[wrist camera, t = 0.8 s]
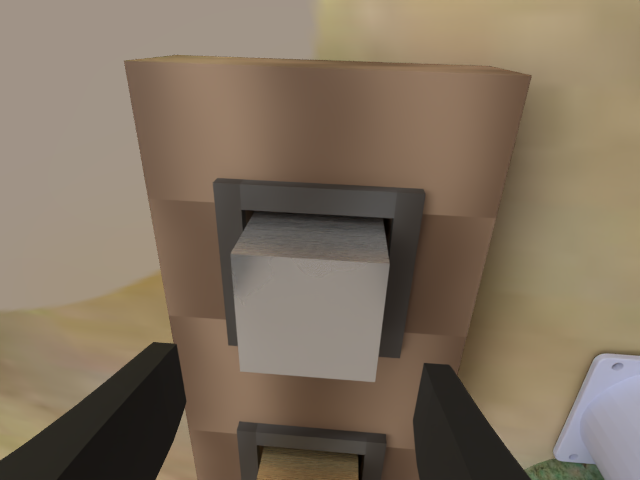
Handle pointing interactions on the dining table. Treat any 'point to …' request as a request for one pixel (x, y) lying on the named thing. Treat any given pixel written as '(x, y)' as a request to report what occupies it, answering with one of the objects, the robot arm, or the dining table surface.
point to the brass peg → (306, 465)
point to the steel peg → (310, 294)
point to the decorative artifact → (563, 471)
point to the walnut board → (330, 199)
